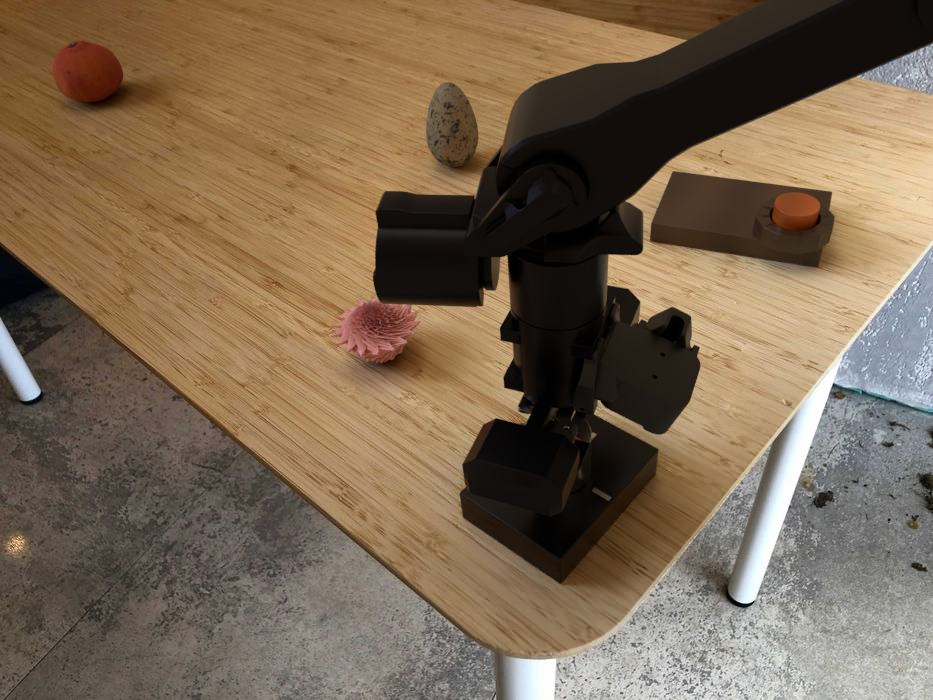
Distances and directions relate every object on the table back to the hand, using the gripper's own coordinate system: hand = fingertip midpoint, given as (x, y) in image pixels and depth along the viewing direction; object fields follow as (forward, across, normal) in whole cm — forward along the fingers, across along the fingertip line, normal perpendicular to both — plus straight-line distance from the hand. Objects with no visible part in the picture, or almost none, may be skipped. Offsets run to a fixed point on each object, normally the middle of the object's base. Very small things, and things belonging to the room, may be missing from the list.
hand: (560, 466), depth 61 cm
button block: (+4, +38, -6) cm, 39 cm away
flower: (+4, +10, +20) cm, 23 cm away
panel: (+4, 0, 0) cm, 4 cm away
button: (0, +35, -12) cm, 37 cm away
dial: (0, 0, 0) cm, 0 cm away
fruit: (+4, +45, +84) cm, 95 cm away
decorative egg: (+4, +42, +27) cm, 50 cm away
